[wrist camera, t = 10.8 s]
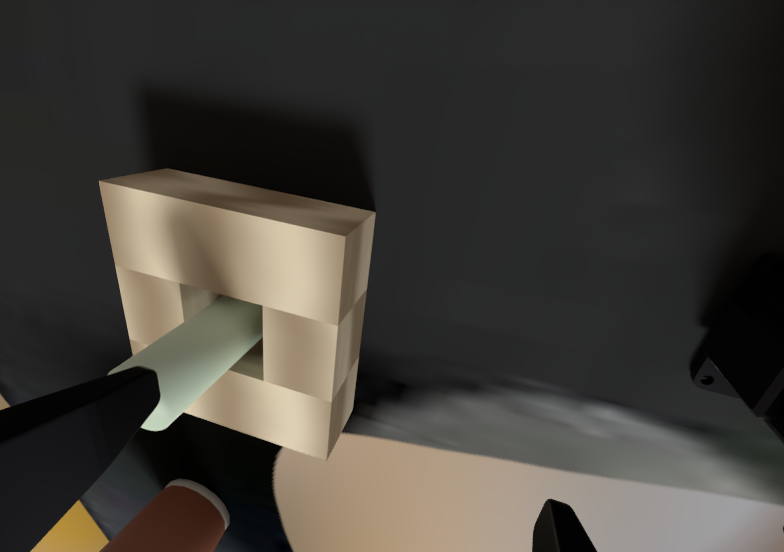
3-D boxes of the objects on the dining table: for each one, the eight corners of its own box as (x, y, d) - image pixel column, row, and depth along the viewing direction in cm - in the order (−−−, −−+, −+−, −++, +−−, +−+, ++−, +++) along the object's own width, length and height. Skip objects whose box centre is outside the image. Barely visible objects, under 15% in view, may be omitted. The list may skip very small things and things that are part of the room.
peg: (290, 280, 22) (166, 381, 14) (289, 325, 23) (175, 440, 15) (243, 269, 22) (98, 358, 14) (245, 313, 24) (113, 417, 16)
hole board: (375, 212, 19) (345, 236, 15) (352, 410, 24) (326, 461, 21) (166, 168, 21) (98, 180, 18) (189, 358, 27) (141, 397, 23)
